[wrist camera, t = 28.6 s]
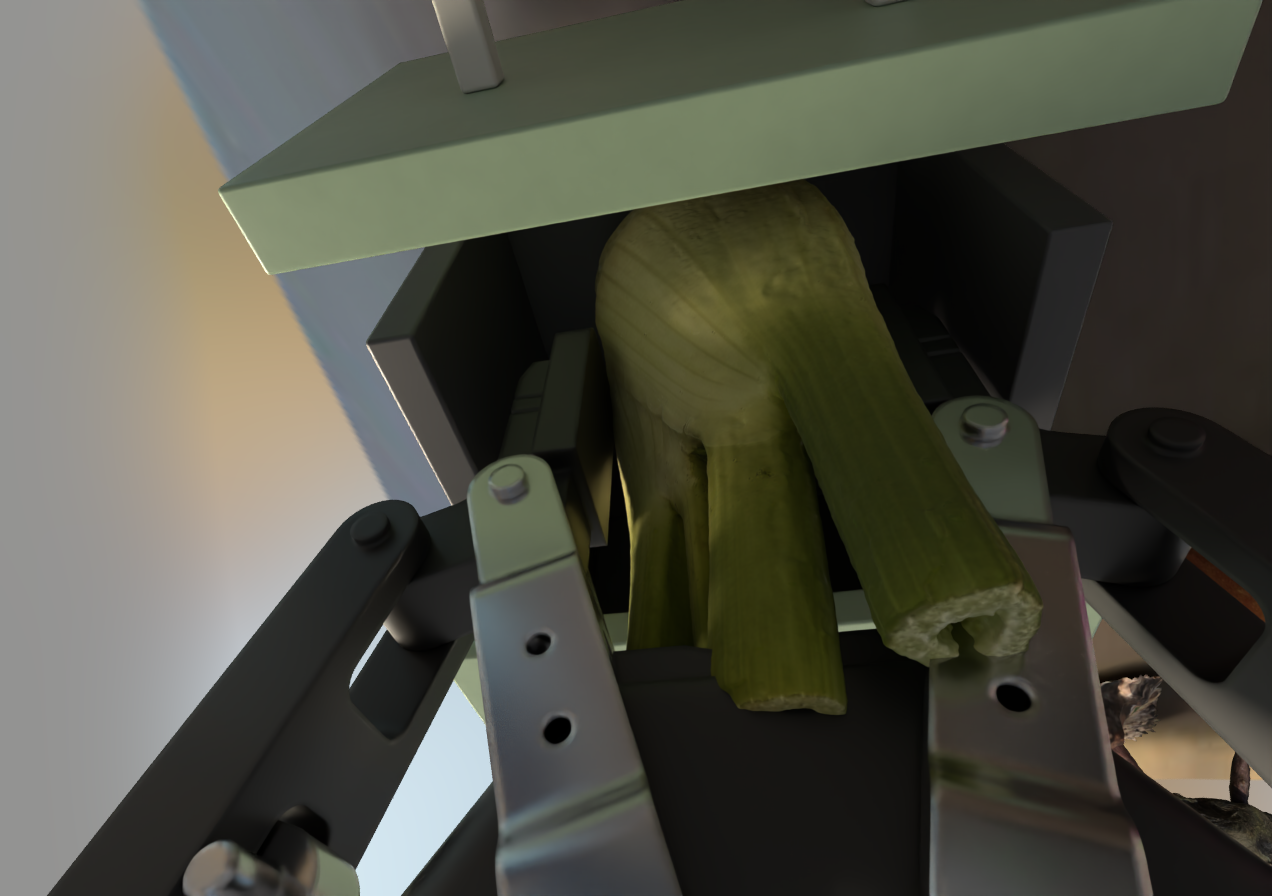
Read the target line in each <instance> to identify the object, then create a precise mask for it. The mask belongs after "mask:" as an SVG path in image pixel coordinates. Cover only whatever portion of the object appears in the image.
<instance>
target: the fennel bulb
mask: <svg viewBox="0 0 1272 896" xmlns="http://www.w3.org/2000/svg"><path fill="white" fill-rule="evenodd" d="M595 292H596V302H595V306H596V310H595V314H596V316H595V323H596V327H597V330H598V334H599V336H600V338H601V341H602V346H603V349H604V356H605V361H606V370H607V377H608V381H609V385H610V397H611V404H612V413H613V419H612V421H613V435H614V442H615V448H616V455H617V462H618V468H619V472H620V478H621V482H622V487H623V492H624V497H625V503H626V510H627V519H628V526H629V531H630V544H631V549H630V555H631V557H630V559H631V572H630V574H631V580H630V581H631V585H630V599H629V601H630V603H629V618H628V635H627V645H626V650H635V649H646V648H658V647H669V646H681V645H687V646H694V647H700V648H707V649H712V656H711V676H715V677H716V680H717V683H718V685H719V687H720V688H721V689H722V690H724V691H725V692H727V693H729V695H730V696H731V698H732V700H733V701H734V703H735V704H736V706H737V707H738V708H739V709H747V710H751V711H773V712H780V711H783V710H791V709H801V708H807V709H813V710H815V711H816V712H819V713H823V714H830V715H843V714H846V711H847V702H848V700H847V695H846V686H845V678H844V672H843V663H842V658H841V651H840V642H839V641H840V639H839V631H838V623H837V618H836V609H835V602H834V596H833V591H832V588H831V582H830V576H829V569H828V560H827V554H826V546H825V540H824V532H823V526H822V520H821V516H820V512H819V500H818V497H817V491H816V483H815V476H816V478H817V479H818V483H819V487H820V488H821V489H822V491H823V494H824V497H825V500H826V502H827V504H828V507H829V510H830V512H831V517H832V519H833V521H834V523H835V525H836V527H837V530H838V532H839V535H840V538H841V539H842V541H843V543H844V545H845V548H846V551H847V553H848V555H849V558H850V562H851V564H852V566H853V568H854V569H855V570H856V572H857V575H858V578H859V580H860V584H861V586H862V589H863V591H864V595H865V599H866V601H867V603H868V606H869V609H870V612H871V617H872V621H873V623H874V624H875V627H876V629H877V631H878V632H879V634H880V635H881V637H882V641H883V644H884V645H885V646H886V647H887V648H890V649H892V650H893V651H895V652H896V653H897V654H899V655H902V656H906V657H908V658H910V659H913V660H916V661H918V662H920V663H921V664H923V665H925V666H927V667H929V662H930V659H936V658H948V657H957V656H958V655H959V652H958V649H959V645H958V643H957V642H955V641H954V639H953V637H952V635H951V630H952V629H953V626H952V625H951V624H950V623H957V622H960V621H961V624H962V627H963V628H964V629H965V630H966V631H967V632H968V633H969V634H970V635H971V636H972V637H973V638H974V641H975V643H974V645H973V646H974V648H975V649H976V650H977V651H978V652H980V653H982V654H983V655H986V656H998V657H1000V656H1008V655H1011V654H1015V653H1019V652H1023V651H1027V650H1028V649H1029V641H1030V639H1031V638H1032V637H1033V636H1034V635H1035V634H1036V633H1037V631H1038V629H1039V627H1040V625H1041V615H1042V609H1043V601H1042V598H1041V596H1040V594H1039V592H1038V590H1037V588H1036V586H1035V584H1034V582H1033V580H1032V578H1031V576H1030V575H1029V573H1028V572H1027V570H1026V569H1025V567H1024V565H1023V563H1022V561H1021V560H1020V558H1019V557H1018V555H1017V553H1016V552H1015V550H1014V549H1013V547H1012V546H1011V545H1010V543H1009V542H1008V540H1007V538H1006V537H1005V535H1004V534H1003V532H1002V531H1001V530H1000V528H999V527H998V525H997V524H996V522H995V520H994V519H993V518H992V516H991V515H990V513H989V512H988V511H987V509H986V507H985V506H984V504H983V503H982V501H981V500H980V498H979V497H978V495H977V494H976V493H975V491H974V489H973V487H972V486H971V485H970V483H969V482H968V480H967V478H966V476H965V474H964V472H963V470H962V468H961V467H960V465H959V464H958V462H957V461H956V459H955V457H954V455H953V454H952V452H951V450H950V448H949V447H948V446H947V444H946V441H945V438H944V436H943V434H942V433H941V431H940V430H939V428H938V427H937V425H936V424H935V422H934V420H933V418H932V416H931V414H930V413H929V411H928V410H927V408H926V407H925V405H924V403H923V401H922V399H921V397H920V396H919V395H918V394H917V392H916V390H915V388H914V386H913V384H912V381H911V380H910V378H909V376H908V374H907V372H906V370H905V368H904V365H903V363H902V361H901V359H900V357H899V355H898V352H897V350H896V348H895V345H894V341H893V339H892V338H891V335H890V333H889V331H888V329H887V327H886V323H885V321H884V319H883V316H882V315H881V313H880V312H879V311H878V309H877V307H876V304H875V301H874V299H873V295H872V292H871V290H870V289H869V284H868V281H867V278H866V277H865V269H864V267H863V264H862V262H861V259H860V255H859V252H858V250H857V249H856V246H855V244H854V238H853V236H852V235H851V233H850V232H849V231H848V228H847V226H846V224H845V222H844V221H843V219H842V217H841V216H840V214H839V213H838V212H837V210H836V209H835V207H834V206H833V205H831V204H830V202H829V201H828V200H827V198H826V197H825V196H824V195H823V194H822V193H821V191H820V190H819V189H818V188H817V187H816V186H814V185H813V184H810V183H809V182H808V181H806V180H804V179H799V180H793V181H788V182H782V183H777V184H771V185H766V186H760V187H755V188H749V189H743V190H738V191H732V192H727V193H721V194H716V195H710V196H705V197H699V198H694V199H688V200H683V201H677V202H671V203H666V204H660V205H655V206H649V207H644V208H638V209H634V210H633V211H632V212H631V213H629V214H628V215H627V216H626V217H625V218H624V219H623V221H622V222H621V223H620V224H619V226H618V227H617V228H616V230H615V231H614V232H613V234H612V235H611V236H610V238H609V239H608V241H607V242H606V244H605V246H604V249H603V251H602V254H601V256H600V260H599V267H598V271H597V274H596V280H595ZM814 473H815V474H814Z"/></svg>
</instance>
